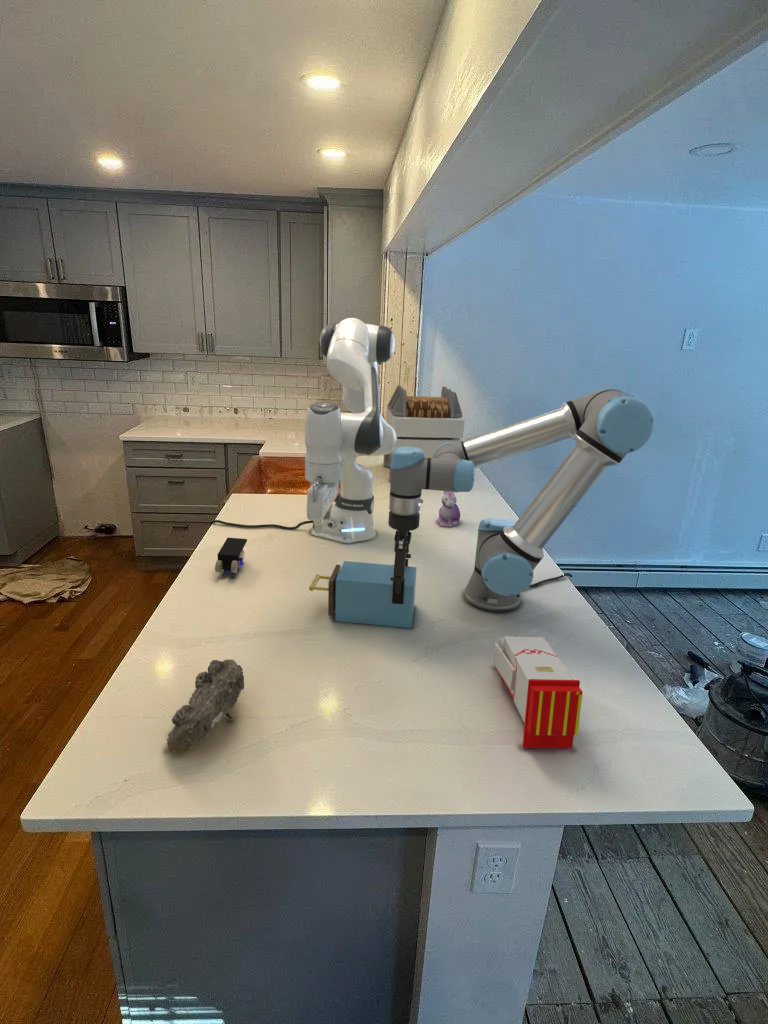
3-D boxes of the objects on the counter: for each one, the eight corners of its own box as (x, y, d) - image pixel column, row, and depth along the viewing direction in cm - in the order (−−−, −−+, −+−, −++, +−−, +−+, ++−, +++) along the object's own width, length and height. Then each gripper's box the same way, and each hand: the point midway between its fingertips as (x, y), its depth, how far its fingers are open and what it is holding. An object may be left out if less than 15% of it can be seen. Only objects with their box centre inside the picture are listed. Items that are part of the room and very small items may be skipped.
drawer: (307, 613, 144) (307, 579, 141) (316, 595, 153) (316, 562, 150) (398, 622, 142) (400, 587, 138) (402, 603, 151) (404, 570, 148)
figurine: (445, 529, 206) (449, 489, 200) (430, 519, 214) (433, 481, 209) (467, 525, 210) (470, 487, 205) (451, 516, 218) (454, 479, 213)
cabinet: (335, 620, 143) (336, 579, 139) (343, 600, 153) (344, 560, 149) (411, 628, 141) (413, 586, 137) (414, 606, 152) (416, 567, 148)
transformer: (382, 463, 289) (386, 382, 275) (445, 464, 293) (451, 384, 279) (390, 482, 257) (394, 392, 243) (460, 483, 261) (468, 394, 247)
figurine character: (238, 584, 162) (249, 557, 175) (236, 562, 158) (247, 536, 172) (215, 584, 161) (227, 556, 175) (212, 561, 158) (225, 535, 171)
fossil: (192, 660, 117) (244, 628, 112) (224, 691, 120) (276, 661, 115) (142, 746, 98) (202, 712, 93) (182, 779, 101) (242, 748, 96)
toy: (540, 620, 128) (592, 687, 99) (535, 674, 131) (584, 755, 102) (487, 619, 128) (523, 686, 99) (483, 673, 131) (517, 754, 101)
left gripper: (327, 484, 126) (326, 542, 131) (343, 462, 145) (342, 512, 150) (299, 482, 127) (300, 539, 131) (319, 460, 146) (319, 510, 150)
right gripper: (417, 530, 126) (411, 616, 133) (422, 497, 148) (417, 573, 155) (383, 527, 126) (379, 613, 134) (393, 495, 148) (389, 570, 156)
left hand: (323, 525), depth 141 cm, fingers open, 8 cm apart
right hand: (399, 592), depth 144 cm, fingers closed on cabinet, 11 cm apart
